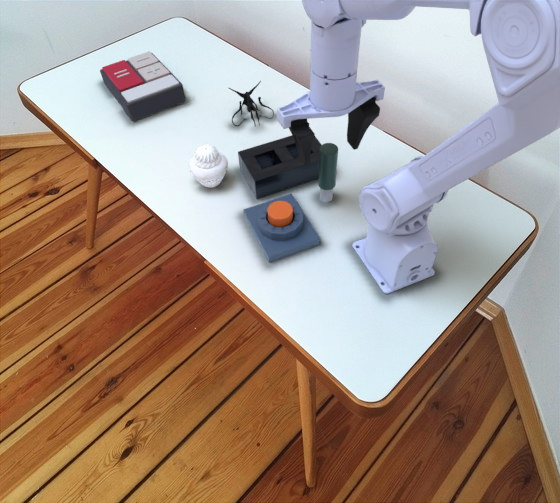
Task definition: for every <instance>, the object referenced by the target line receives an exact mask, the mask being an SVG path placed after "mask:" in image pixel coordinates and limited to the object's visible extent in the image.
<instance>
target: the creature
mask: <svg viewBox="0 0 560 503" xmlns="http://www.w3.org/2000/svg"><path fill="white" fill-rule="evenodd" d="M261 82H262V80H260V81H259V82H258V83H257V84H256V85H255V86H254V87H252V88H251V89H250V90H249V91H245V92H244V93H242V92H240V91H237V90H235V89H232V88H231V87H228V89H229V90H231V91H232V92H234V93H236V94H237V95H238V96H239V97H240V98H242V99H243V101H242V100H240V101H239V106H238V109H237V110H236V112H234V113H233V115H232V117H231V123H232V125H233V126H235V127H240V126H241V124H242V123H243V122H244V121H246V118H243V117H242V119H243V120H242V121H240V123H239V124H235V123H234V120H233V119H234V118H235V116H236V115H237V114H238V113H239V112H240V116H242V115H243V106H245V107H246V110H247V113H250V119H251V120H252V121H253V125H254V127H257V125H256V120H255V118H254V114H253V112H255V117H256V119H257V122H258V126H261V124H260V117H261V114H259V113H258V111H260V112H261V110H260V109H258V105H257V103H256V102H255V101H254V99H253V98H252V97H251V95H252V94H253V92H254V91H255V90H256V88H257V87H258V86H259V84H261ZM257 99H258V104H259V105H260V106H261V107H262V108H267V109H269V110H271V111H272V116H271V117H267V116H263V115H262V117H263V118H266V119H269V120H271V119H273V118H274V116H275V111H274V109H273V108H271V106H268V105H266V104H264V103H263V102H262V97H261V96H258V97H257Z"/></svg>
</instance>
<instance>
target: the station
mask: <svg viewBox="0 0 560 503" xmlns="http://www.w3.org/2000/svg"><path fill="white" fill-rule="evenodd" d="M276 201H285V202H288V203H289V204H290V205H291V206H292V208H293V220H292V222H291V223H290V224H289V225H287V226H285V227H275V226H273V225H271V224H270V222H269V221H268V211H267V210H268V207H269V205H270V204H272V203H273V202H276ZM242 210H243V217H244V219H245V221H246V222H247V224H248V226H249V228H250V230H251V231H252V233H253V235H254V237H255V239H256V241H257V243H258V245H259V247H260V249H261V250H262V252H263V254H264V257H265V258H266V260H267V262H268V263H273V262H275V261H278V260H281V259H285V258H287V257H290V256H292V255H295V254H298V253H300V252H303V251H305V250H308V249H311V248H315V247H317V246H320V244H321V243H320V242H321V238H320V236H319V235H318V233H317V232H316V230H315V228H314V227H313V225H312V224H311V222H310V221H309V219H308V217H307V216H306V214H305V213H304V211H303V209H302V208H301V206H300V205H299V203H298V201H297V200H296V199H295V197H294V195H293V193H289V194H286V195H282V196H280V197H277V198H274V199H271V200H268V201H265V202H262V203H259V204H255V205H253V206H249V207H246V208H244V209H242Z"/></svg>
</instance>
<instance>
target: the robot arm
mask: <svg viewBox="0 0 560 503" xmlns="http://www.w3.org/2000/svg"><path fill="white" fill-rule="evenodd" d="M301 3H302V6H303V9H304V12H305V13H306V15H307V17H308V18H309V19H310V27H311V28H310V70H309V71H310V73H309V76H310V77H309V91H308V92H306V93H304V94H303V95H301V96H299V97H298V98H296V99H295V100H293V101H291V102H290V103H287V104H286V105H283V106H281V107H277V109H276V110H277V111H276V112H277V113H276V114H277V122H278V123H279V125H280V126H281V128H282V129H283V130H286V129H288V130H289V132H290V133H291V135H293V138H294V140H295V143H296V146H297V149H298V153H299V158H300V159H301V161H302V162H303V163H304V165H308V164H310V159H311V144H312V140H313V137H314V135H315V132H314V131H313V129H312V128H311V127H310V123H309V122H308V119H309V120H310V119H325V118H340V117H343V116H345V115H347V129H346V141H347V143H348V145H349V146H351V149H352V150H354V151H355V150H359V147H360V145H361V142H362V140H363V138H364V136H365V134H366V133H367V130H369V127H370V126H371V125H372V123H374V122H375V120H376V119H377V118H379V116H380V112H381V107H380V106H379V105H378V104H377V102H379V101H383V100H384V98H385V89H386V86H385V85H383V83H382V82H381V81H380V80H379V79H374V80H370V81H368V80H367V81H357V76H358V68H359V67H358V65H359V57H360V47H361V37H362V28H363V27H364V26H365V25H366V24H367V21H399V20H403V19H405V18H406V17H409V15H411V13H412V12H413V11H414V10H415V8H416V7H418V8H420V7H421V8H436V9H437V8H438V9H439V8H440V9H455V10H456V9H457V10H468V11H469V30H470V34H471V35H472V36H473V37H477V36H479V35H481V41H482V46H483V49H484V53H485V57H486V60H487V64H488V68H489V72H490V75H491V78H492V82H493V86H494V91H495V94H496V97H497V103H496V104H495V105H493V106H492V107H491V108H489V109H488V110H486V111H485V112H484V113H482V114H481V115H479V116H478V117H476V118H475V119H473V120H472V121H470V122H469V123H468V124H466V126H463V127H462V128H461V129H459V131H457V132H456V133H454V134H453V135H451V136H450V137H449V138H447V139H445V140H444V141H443V142H442V143H440V144H439V145H437V146H436V147H435V148H433V149H432V150H430V151H429V152H428V153H426V154H424V155H420V156H419V155H418V156H416V157H414V158H413V159H412V160H410V162H408V163H407V164H405V165H403V166H401V167H399V168H398V169H396V170H394V171H392V172H391V173H389V174H387V175H385V176H383V177H381V178H380V179H378V180H376V181H375V182H373V183H369V184H367V185H365V186H363V187H362V188H361V190H360V191H359V198H358V199H359V201H358V202H359V208H360V211H361V213H362V216H363V218H364V219H365V220H366V222H367V224H368V225H367V230H366V237H365V238H362V239H358V240H355V241H353V242H352V245H351V246H352V248H353V250H354V251H355V253H356V254H357V256H358V258H360V260H361V262H362V263H363V264H364V266H365V268H366V269H367V271H368V272H369V273H370V275H371V277H372V278H373V280H374V281H375V282H376V284H377V285H378V287H379V288H380V290H381V291H382V293H384V294H386V295H387V294H391V293H393V292H396V291H398V290H400V289H404V288H405V287H408V286H410V285H413V284H415V283H418V282H420V281H423V280H426V279H428V278H430V277H433V276H434V275H435V274H436V271H435V270H434V268H433V266H434V264H435V261H436V257H437V254H438V251H439V247H438V244H437V242H436V241H435V239H434V238H433V237H432V234H431V231H430V228H429V223H428V222H429V221H428V219H429V215H430V213H432V211H433V209H434V205H435V204H438V203H440V202H442V201H443V200H444V199H446V197H447V195H448V192H449V190H451V189H453V188H455V187H456V186H458V185H460V184H462V183H464V182H465V181H467V180H469V179H471V178H473V177H475V176H476V175H478V174H480V173H482V172H483V171H485V170H487V169H489V168H491V167H493V166H495V165H496V164H498V163H500V162H501V161H503V160H506V159H507V158H509V157H511V156H513V155H514V154H516V153H517V152H520V151H522V150H524V149H525V148H527V147H529V146H531V145H532V144H535V143H536V142H538V141H539V140H541V139H543V138H545V137H547V136H549V135H550V134H552V133H554V132H555V131H557V130H558V129H560V0H301ZM315 136H316V135H315Z"/></svg>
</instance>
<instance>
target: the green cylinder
mask: <svg viewBox="0 0 560 503" xmlns="http://www.w3.org/2000/svg"><path fill="white" fill-rule="evenodd" d="M338 156H339V146H338V145H337V144H335V143H332V142H325V143H323V144H321V147H320V156H319V179H317V180H318V181H317V182H318V184H317V185H318V187H319V201H321V202H322V203H330V202H331V201H333V196H334V188H335V187H336V183H337V171H338V170H337V169H338Z"/></svg>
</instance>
